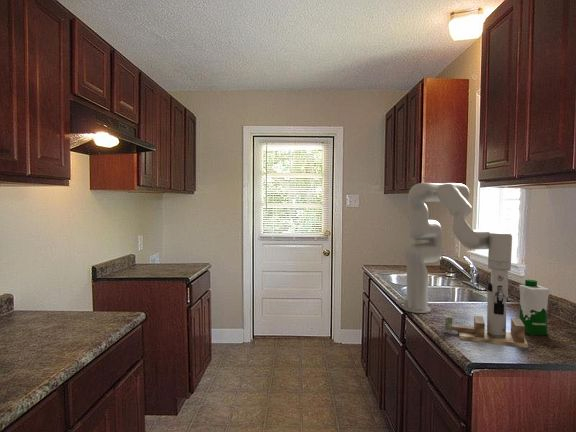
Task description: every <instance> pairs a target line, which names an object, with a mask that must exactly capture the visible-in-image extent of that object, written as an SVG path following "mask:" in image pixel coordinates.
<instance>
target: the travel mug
mask: <svg viewBox="0 0 576 432" xmlns="http://www.w3.org/2000/svg"><path fill="white" fill-rule="evenodd" d="M497 290H498V289H497ZM496 295H498V294H496ZM486 300H487V302H486V306H487V307H486V308H487V311H486V313H487V314H486V315H487V316H486V319H487V320H486V330H487V334H488V335H489V336H492V337H496V338H504V337H506V332H507V298H505V297H504V315H499V314H494V303H495V297H494V296H493V294H492V285H491V282H489V283H487V299H486Z"/></svg>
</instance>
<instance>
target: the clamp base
mask: <svg viewBox="0 0 576 432" xmlns="http://www.w3.org/2000/svg"><path fill="white" fill-rule="evenodd" d="M458 332H459V339H460V340H467V341H473V342H479V343H480V342H481V343H488V344H494V345H495V344H496V345H504V346H510V347H511V346H512V347H518V348H525V349H526V348H527V349H528V348H529V344H528V341H527V339H526V338H525V334H526V332H525V326H524V324H523V323H522V321H521V319H519V318H515V317H511V318H510V332H508V331H506V337H504V338H496V337H492V336H489V335H488V334H487V329H485V335H484V337H479V336H475V333H471V332H463V331H458Z"/></svg>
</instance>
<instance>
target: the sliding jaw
mask: <svg viewBox="0 0 576 432" xmlns="http://www.w3.org/2000/svg"><path fill="white" fill-rule="evenodd" d="M484 319H485V318H484V316H481V315H474V316H473V326H466V325H458V324H453V314H447V313H446V314H445V321H444V322H445V324H444V327H445V328H444V331H450V332H452V331H456V332H459V331H463V332H471V333H475V336H479V337H484V335H485V330H486V329H485V328H486V323H485V320H484Z"/></svg>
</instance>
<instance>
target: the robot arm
mask: <svg viewBox="0 0 576 432" xmlns="http://www.w3.org/2000/svg"><path fill="white" fill-rule="evenodd" d="M470 194H471V193H470V189H469V187H468V186H467V185H465V184H463V183H456V182H446V183H435V182H434V183H432V182H420V183H416V184H414V185H413V186H412V187H411V188H410V189H409V192H408V195H407V197H408V198H407V200H408V201H407V202H408V209H409V211H408V212H409V215H408V217H409V219H408V234H409V237H410V238H411V239H412V240H415V241H425V242H414V243H410V244H409V245H407V246H406V248H405V249H404V250H405V251H404V253H405V254H404V255H405V256H404V257H405V262H406V263H405V264H406V296H405V299H401V298H400V299H399V298H397V299H396V304H398V305H402V310H404V311H406V312H408V313H409V312H410V313H413V314H414V313H415V314H427V313H430V312H432V311H431V310H432V308H431V307H430V306H428V294H429V289H428V288H429V271H428V269H427V266H426V264H428V263H430V264H431V263H436V262H438V261H440V259H441V257H442V251H443V246H442V245H443V229H442V226H441V224H440V222H439V221H437V220H435V219H429V208H428V206H427V204H426V202H431V203H432V202H433V203H441V204H442V206H443V207H444V208H445V209H446V211H447V212H448V214H449V215H450V217H451V218H452V222H451V225H452V226H451V227H452V231H453V234H454V235H455V237H456V238H457V240H458V241H459V242H460V244H461V245H462V246H463V247H464V248H466V249H467V250H471V251H475V250H488V253H487V254H488V257H487V270H490V283H491V285H492V294H493V296H494V297H495V303H494V314H499V315H504V297H505V298H506V299H507V298H509V274H508V273H509V271H512V270H511V269H512V268H511V267H512V249H513V247H512V246H513V245H512V244H513V235H512V234H511V233H510V232H505V231H494V230H490V229H473V228H472V227H471V226H470V225H469V223H468V222H467V220H466V218H467V217H468V216H469V215H471V213H472V210H473V208H472V205H471V204H470V203H469V202H468V200H469V198H470V196H471V195H470ZM497 289H498V290H497ZM496 294H498V295H496Z"/></svg>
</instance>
